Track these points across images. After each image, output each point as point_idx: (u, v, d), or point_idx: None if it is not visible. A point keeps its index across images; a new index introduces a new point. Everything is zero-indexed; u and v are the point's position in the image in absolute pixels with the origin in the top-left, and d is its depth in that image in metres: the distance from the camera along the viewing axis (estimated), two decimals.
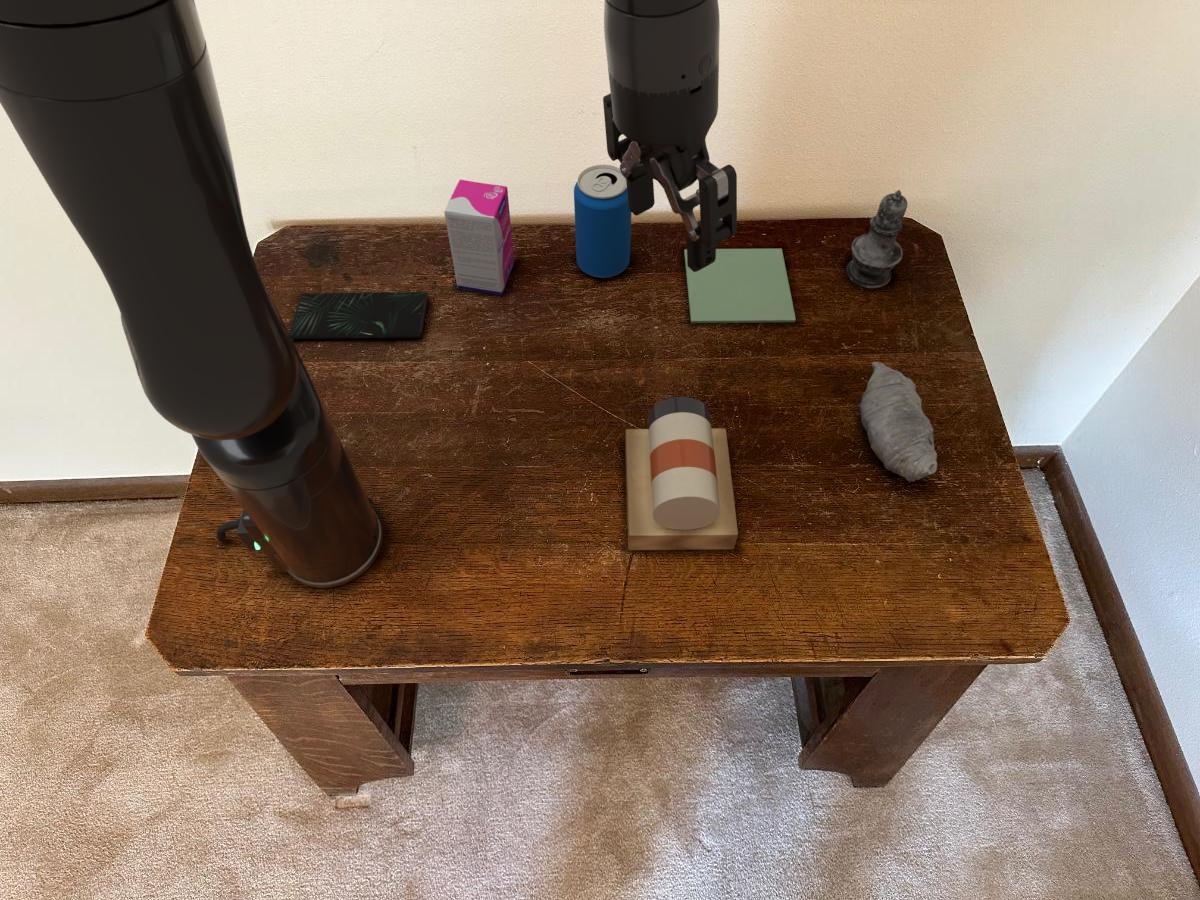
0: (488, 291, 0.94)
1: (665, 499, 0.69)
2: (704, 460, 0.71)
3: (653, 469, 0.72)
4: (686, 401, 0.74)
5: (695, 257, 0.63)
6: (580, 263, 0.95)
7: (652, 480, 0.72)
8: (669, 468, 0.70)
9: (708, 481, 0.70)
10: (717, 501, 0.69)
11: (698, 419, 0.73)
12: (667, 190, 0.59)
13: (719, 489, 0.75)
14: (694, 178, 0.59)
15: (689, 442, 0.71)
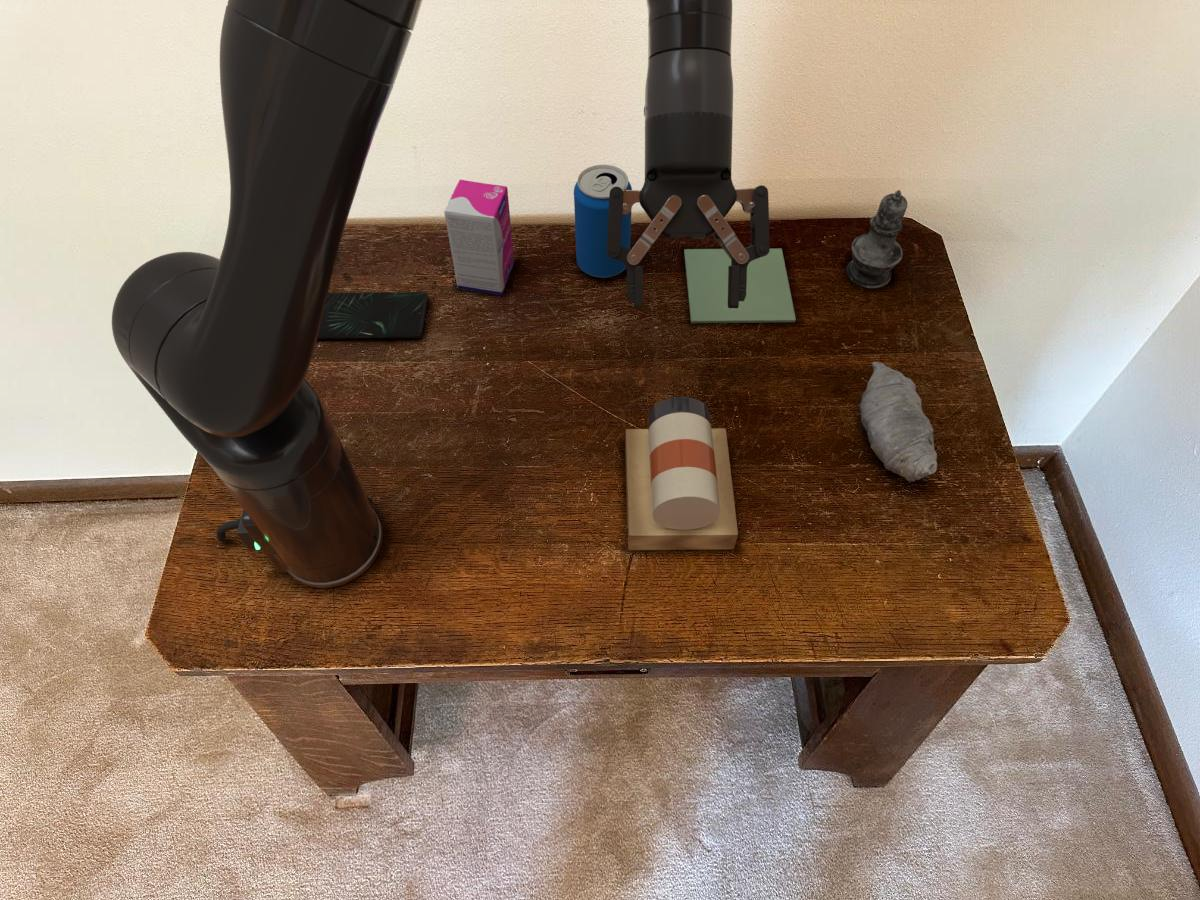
0: (488, 291, 0.94)
1: (665, 499, 0.69)
2: (704, 460, 0.71)
3: (653, 469, 0.72)
4: (685, 401, 0.74)
5: (739, 289, 0.71)
6: (580, 263, 0.95)
7: (652, 480, 0.72)
8: (669, 468, 0.70)
9: (708, 481, 0.70)
10: (717, 501, 0.69)
11: (698, 419, 0.73)
12: (716, 222, 0.69)
13: (719, 489, 0.75)
14: None
15: (689, 442, 0.71)
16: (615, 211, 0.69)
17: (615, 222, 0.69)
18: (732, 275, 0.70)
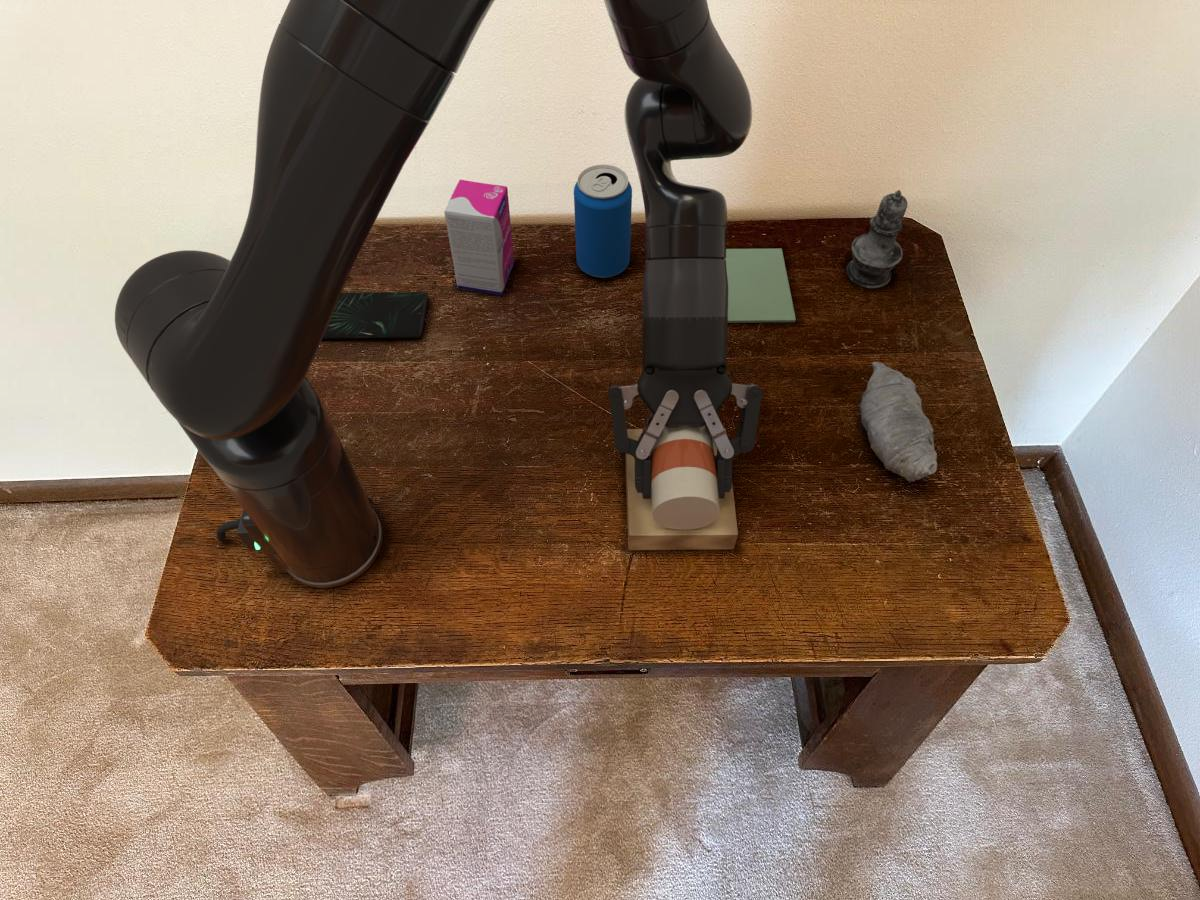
0: (488, 291, 0.94)
1: (665, 499, 0.69)
2: (704, 460, 0.71)
3: (653, 469, 0.72)
4: None
5: (724, 481, 0.72)
6: (580, 263, 0.95)
7: (652, 480, 0.72)
8: (669, 468, 0.70)
9: (708, 481, 0.70)
10: (717, 501, 0.69)
11: None
12: (713, 414, 0.70)
13: None
14: None
15: (689, 442, 0.71)
16: (617, 410, 0.71)
17: (619, 420, 0.71)
18: (718, 469, 0.72)
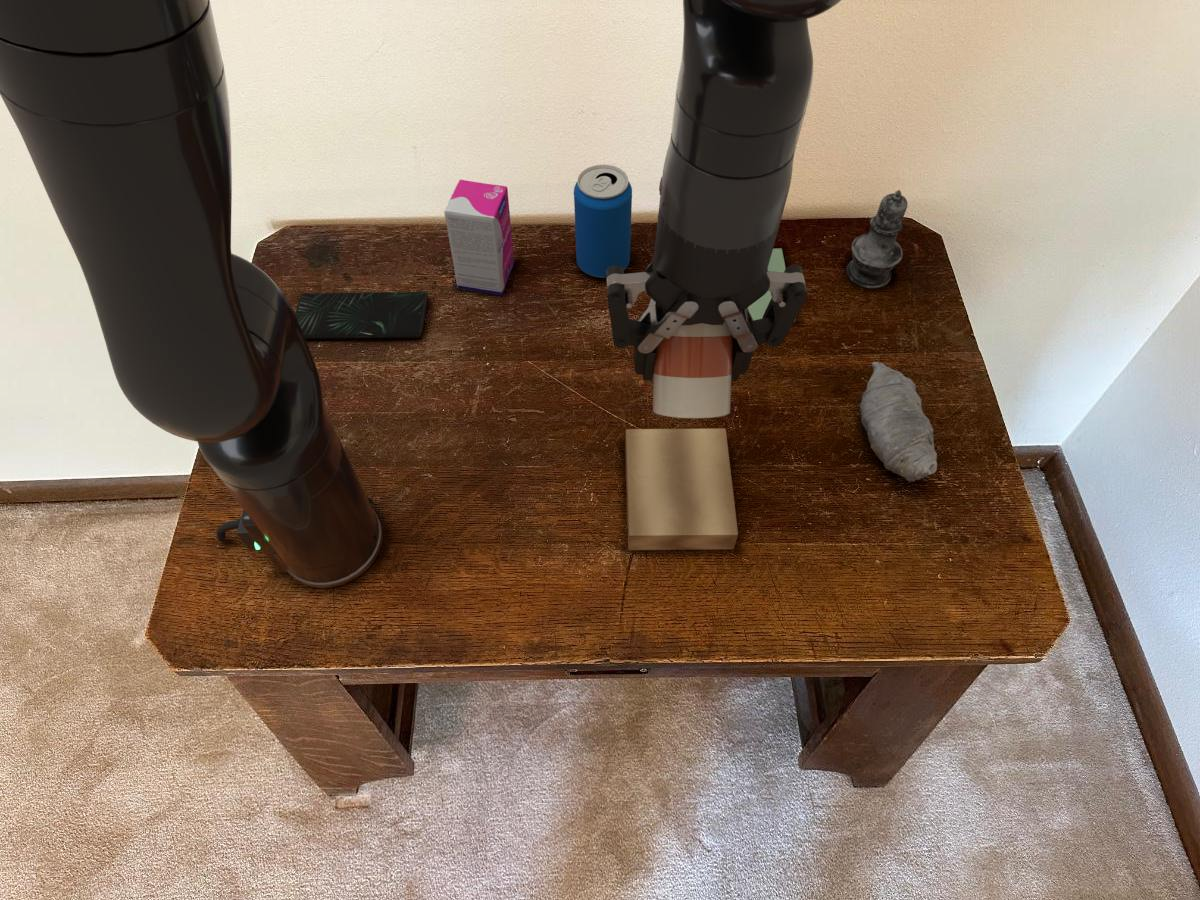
0: (488, 291, 0.94)
1: (669, 414, 0.59)
2: (720, 363, 0.58)
3: (657, 360, 0.60)
4: None
5: None
6: (580, 263, 0.95)
7: (655, 373, 0.60)
8: (677, 375, 0.58)
9: (721, 392, 0.59)
10: (728, 408, 0.60)
11: None
12: (739, 320, 0.55)
13: (719, 489, 0.75)
14: None
15: (705, 342, 0.58)
16: (618, 312, 0.55)
17: (619, 320, 0.56)
18: (735, 358, 0.60)
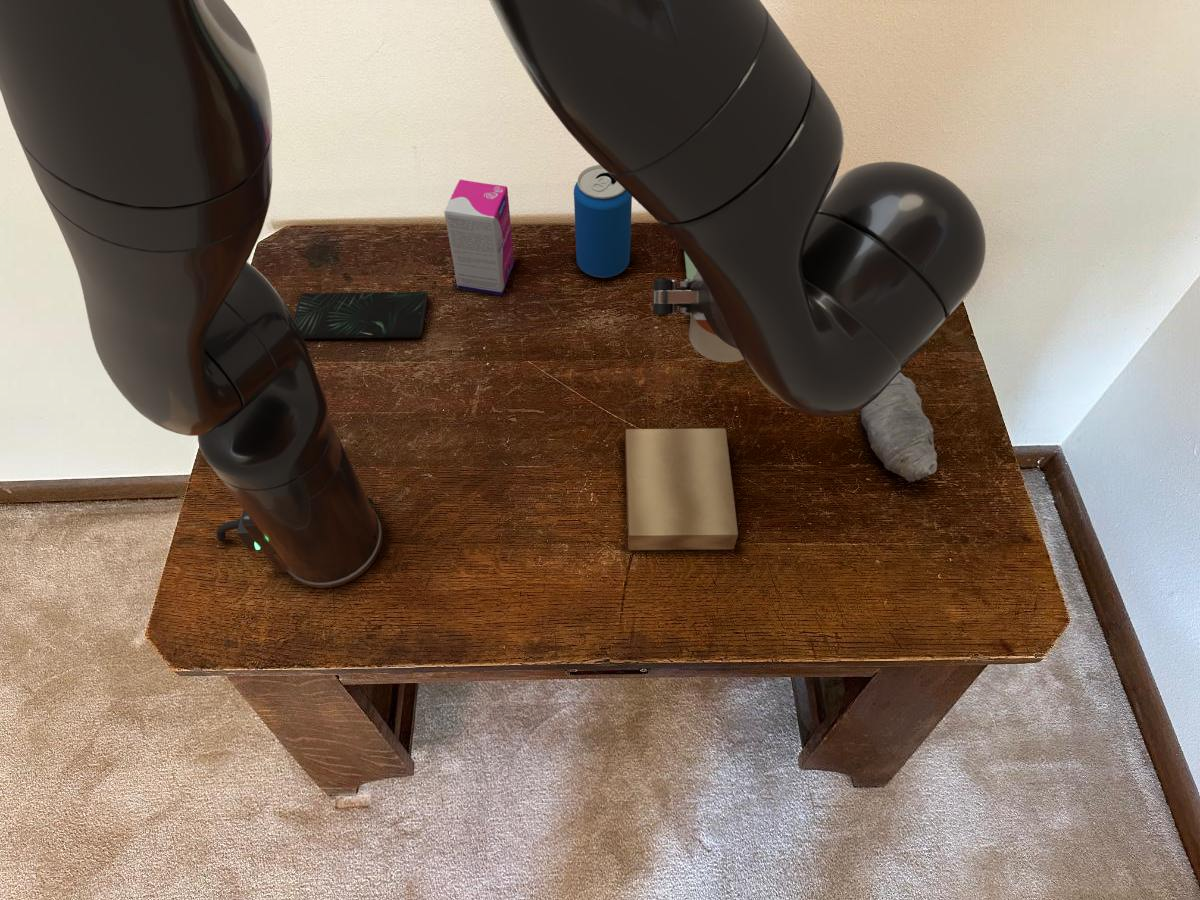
0: (488, 291, 0.94)
1: (703, 354, 0.66)
2: None
3: None
4: None
5: None
6: (580, 263, 0.95)
7: None
8: (713, 333, 0.63)
9: None
10: None
11: None
12: None
13: (719, 489, 0.75)
14: None
15: None
16: None
17: None
18: None
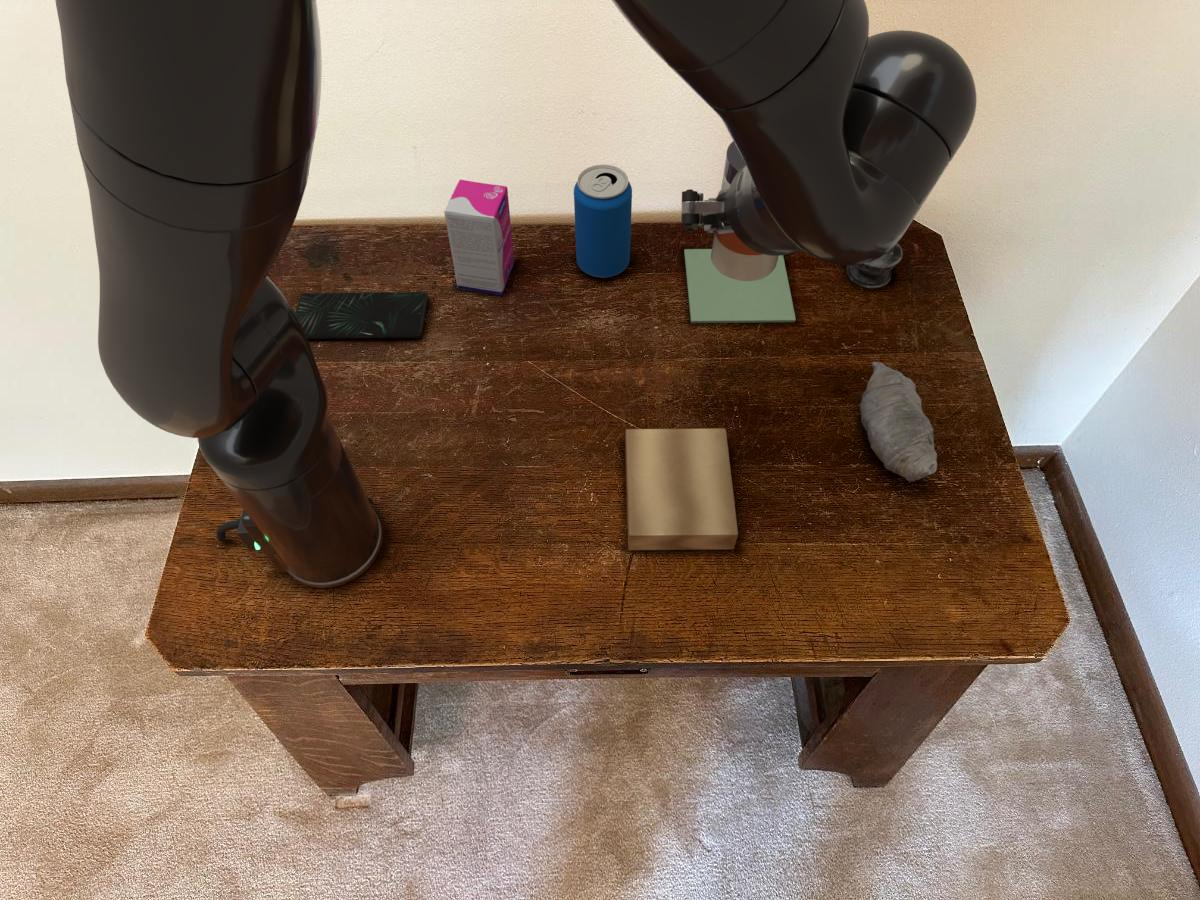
0: (488, 291, 0.94)
1: (724, 273, 0.71)
2: None
3: None
4: None
5: None
6: (580, 263, 0.95)
7: (716, 237, 0.70)
8: (735, 251, 0.69)
9: (770, 260, 0.70)
10: (775, 265, 0.71)
11: None
12: None
13: (719, 489, 0.75)
14: None
15: None
16: None
17: (690, 226, 0.64)
18: None
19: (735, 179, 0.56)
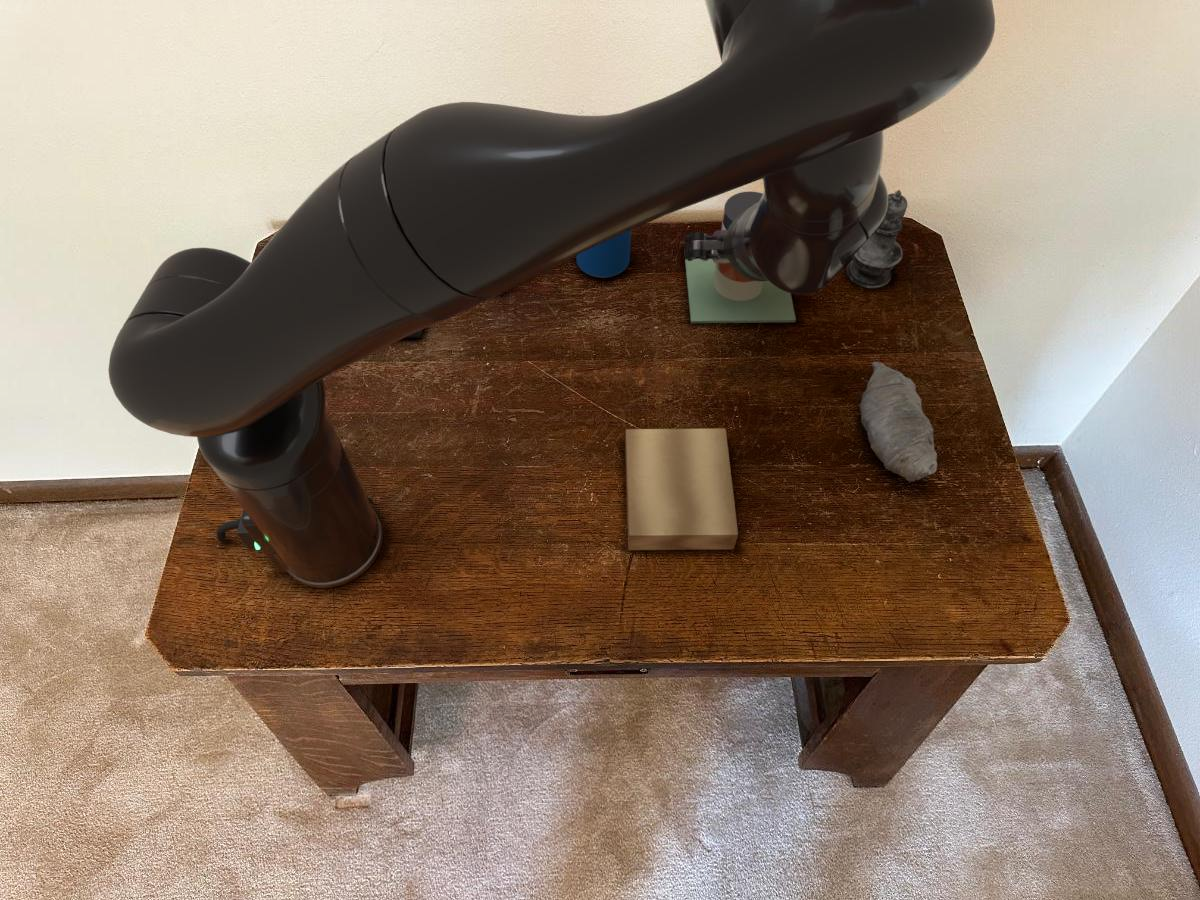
0: None
1: (723, 295, 0.93)
2: None
3: (719, 263, 0.91)
4: None
5: None
6: (580, 263, 0.95)
7: (717, 268, 0.92)
8: (731, 279, 0.90)
9: (758, 285, 0.92)
10: (762, 288, 0.93)
11: None
12: None
13: (719, 489, 0.75)
14: None
15: None
16: None
17: None
18: None
19: (731, 227, 0.78)
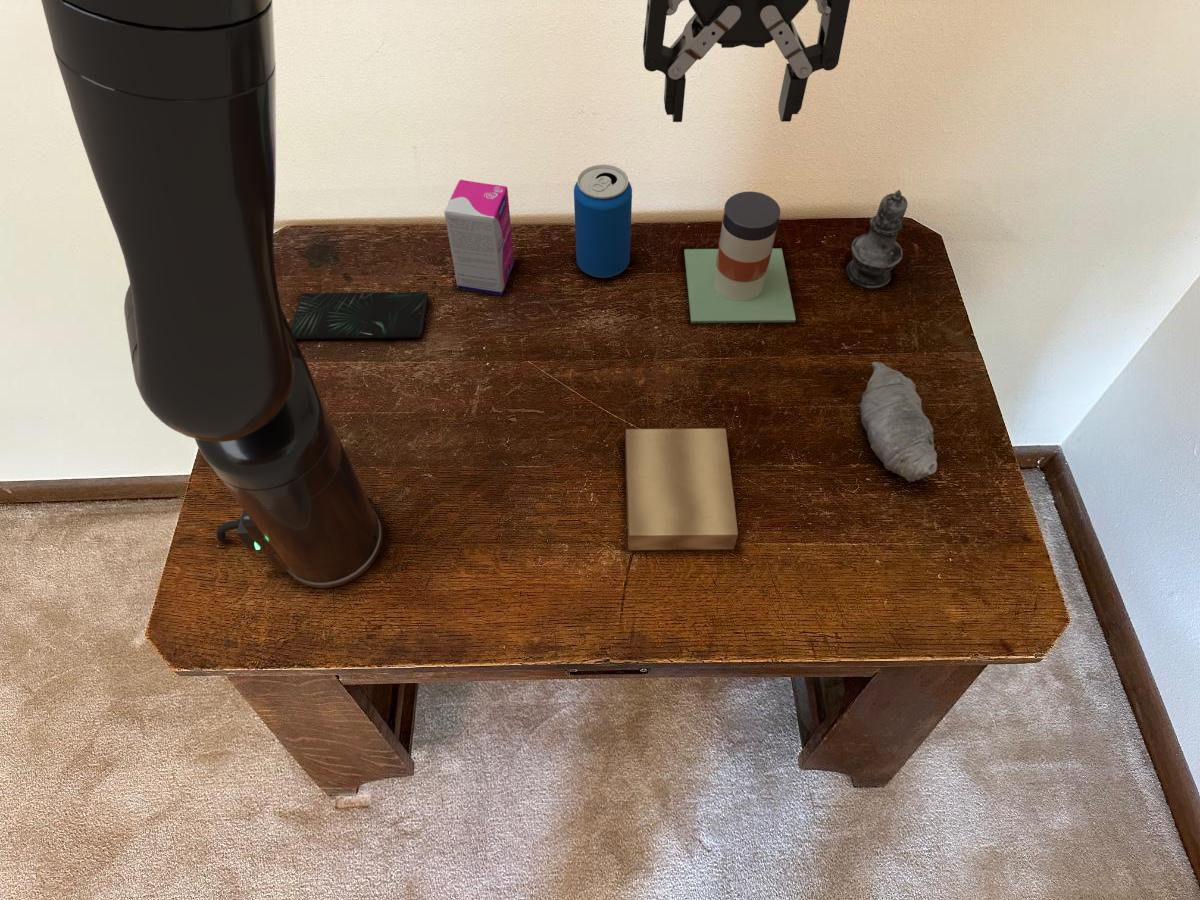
0: (488, 291, 0.94)
1: (723, 295, 0.93)
2: (760, 272, 0.90)
3: (719, 263, 0.91)
4: (758, 232, 0.84)
5: None
6: (580, 263, 0.95)
7: (717, 268, 0.92)
8: (731, 279, 0.90)
9: (758, 285, 0.92)
10: (762, 288, 0.93)
11: (765, 242, 0.86)
12: (780, 35, 0.56)
13: (719, 489, 0.75)
14: None
15: (752, 265, 0.88)
16: (657, 18, 0.56)
17: (656, 31, 0.56)
18: (789, 89, 0.60)
19: None
